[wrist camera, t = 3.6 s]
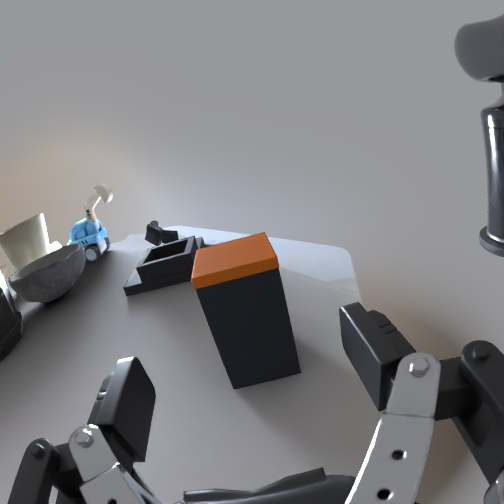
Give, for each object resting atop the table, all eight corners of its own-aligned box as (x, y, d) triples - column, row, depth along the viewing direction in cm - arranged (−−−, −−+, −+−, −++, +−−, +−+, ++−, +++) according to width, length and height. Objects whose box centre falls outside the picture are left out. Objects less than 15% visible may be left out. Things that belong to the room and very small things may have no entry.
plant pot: (22, 282, 71) (2, 231, 65) (64, 262, 77) (45, 211, 72) (15, 298, 58) (-10, 238, 53) (63, 275, 65) (40, 214, 60)
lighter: (178, 251, 68) (182, 231, 65) (173, 255, 66) (177, 234, 63) (149, 236, 69) (152, 216, 66) (144, 239, 67) (147, 219, 64)
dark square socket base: (204, 243, 60) (198, 224, 58) (199, 278, 45) (191, 252, 43) (147, 259, 60) (140, 240, 58) (126, 296, 45) (116, 273, 43)
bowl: (80, 270, 65) (67, 239, 62) (108, 279, 54) (93, 240, 51) (19, 305, 53) (4, 273, 50) (31, 326, 42) (10, 284, 39)
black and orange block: (288, 334, 28) (264, 231, 24) (301, 373, 23) (277, 256, 19) (230, 348, 28) (196, 249, 24) (232, 389, 22) (190, 278, 19)
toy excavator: (121, 254, 68) (98, 185, 62) (69, 269, 69) (46, 206, 63) (133, 242, 76) (113, 179, 70) (84, 256, 77) (63, 198, 71)
